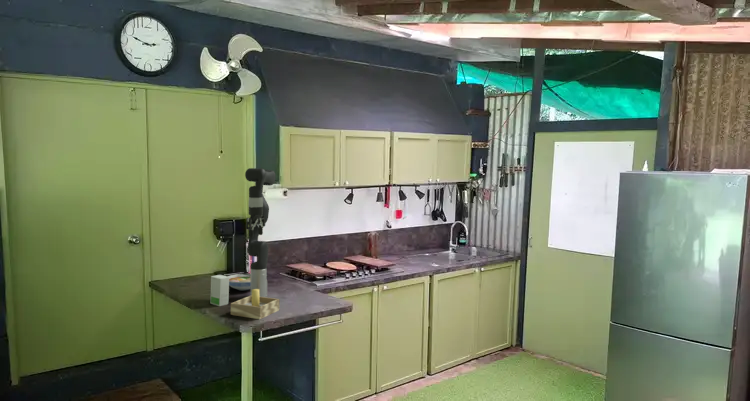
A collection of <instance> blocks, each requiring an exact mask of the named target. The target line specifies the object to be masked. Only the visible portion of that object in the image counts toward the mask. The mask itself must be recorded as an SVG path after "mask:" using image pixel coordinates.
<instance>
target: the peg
mask: <svg viewBox="0 0 750 401" xmlns="http://www.w3.org/2000/svg"><path fill="white" fill-rule="evenodd" d="M252 306H257V307H259V289H253V290H252Z"/></svg>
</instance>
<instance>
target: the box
mask: <svg viewBox="0 0 750 401" xmlns="http://www.w3.org/2000/svg"><path fill="white" fill-rule="evenodd" d="M280 301H281V300H280V298H274V297H268V296H267V297H260V296H259V307H257V306H252V295H251V296H250V295H249V296H245V297H243V298H241V299H238V300H236V301H234V302H230V315H232V316H238V317H244V318H248V319H249V318H251V319H256V320H261V319H263V318H266V317H268V316H270V315H272V314H275V313H277V312H279V311H280Z"/></svg>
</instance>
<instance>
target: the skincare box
mask: <svg viewBox="0 0 750 401" xmlns="http://www.w3.org/2000/svg"><path fill="white" fill-rule="evenodd" d="M227 276H228V275H227ZM227 276H226V275H222V274H217V275H211V276H210V304H211V305H213V306H218V307H222V306H226V305H229V299H230V298H229V297H230V296H229V295H230V293H229V292H230V286H229V277H227Z"/></svg>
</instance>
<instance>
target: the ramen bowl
mask: <svg viewBox="0 0 750 401" xmlns="http://www.w3.org/2000/svg"><path fill="white" fill-rule="evenodd" d="M250 274H251V273H241V272H236V273H235V274H230V275H227V277H229V287H231V288H232V289H235V290H237V291H244V292H245V291H246V292H247V291H249V290H250ZM267 278H269V276H268V275H267Z"/></svg>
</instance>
